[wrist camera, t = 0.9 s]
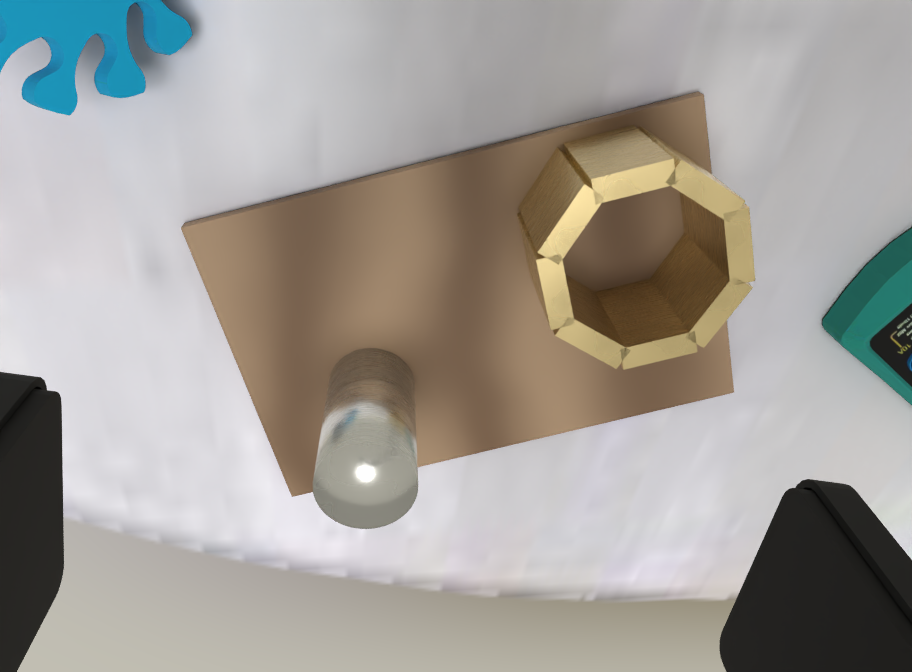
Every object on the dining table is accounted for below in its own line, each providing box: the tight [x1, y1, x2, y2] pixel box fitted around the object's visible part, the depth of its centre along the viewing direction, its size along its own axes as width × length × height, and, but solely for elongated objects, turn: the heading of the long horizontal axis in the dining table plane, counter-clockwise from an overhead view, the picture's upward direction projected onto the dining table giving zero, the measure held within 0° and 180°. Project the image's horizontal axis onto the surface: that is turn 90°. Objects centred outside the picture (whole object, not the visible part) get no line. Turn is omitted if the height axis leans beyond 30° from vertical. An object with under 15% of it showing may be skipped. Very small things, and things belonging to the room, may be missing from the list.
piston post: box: [313, 348, 418, 529], centre depth 31 cm, size 4×4×7 cm
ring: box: [517, 125, 755, 370], centre depth 30 cm, size 7×7×5 cm
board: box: [181, 92, 734, 497], centre depth 34 cm, size 20×13×1 cm, turn 103°
